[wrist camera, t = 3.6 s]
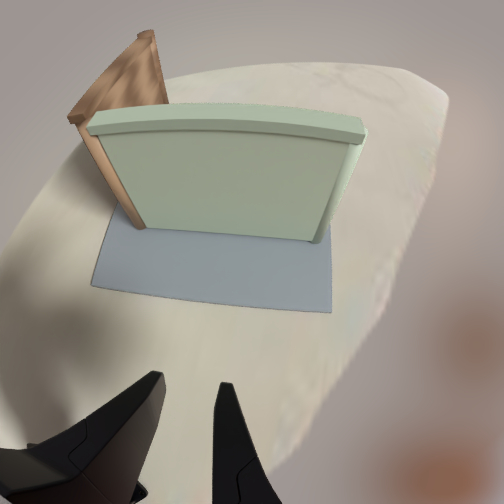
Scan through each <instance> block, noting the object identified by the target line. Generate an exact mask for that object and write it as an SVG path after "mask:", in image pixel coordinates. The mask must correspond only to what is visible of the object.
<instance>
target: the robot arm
mask: <svg viewBox="0 0 504 504" xmlns="http://www.w3.org/2000/svg"><path fill="white" fill-rule="evenodd" d="M165 394H166V385H165V379H164V374H163V373H162V372H158V371H151V372H149V373H148V374H146V375H145V376H144V377H142V378H141V379H140V380H138V381H137V382H135V383H134V384H133V385H131V386H130V387H128V388H127V389H126V390H124V391H123V392H121V393H120V394H119V395H117V396H116V397H114V398H113V399H112V400H110V401H109V402H107V403H106V404H104V405H103V406H102V407H100V408H99V409H97V410H96V411H94V412H93V413H92V414H90V415H89V416H87V417H86V419H85V418H84V419H83V420H81V421H80V422H78V423H77V424H75V425H74V426H72V427H70V428H69V429H67V430H65V431H63V432H62V433H60V434H58V435H56V436H54V437H52V438H50V439H48V440H46V441H44V442H42V443H40V444H31V443H28V444H27V449H22V450H15V449H4V448H0V504H135V503H137V502H139V501H140V500H142V499H144V498H145V497H146V496H147V495H148V491H147V490H146V489H145V488H144V487H143V486H142V485H141V484H140V483H139V482H138V481H137V480H138V478H139V475H140V472H141V469H142V467H143V464H144V461H145V459H146V456H147V453H148V451H149V448H150V445H151V443H152V440H153V438H154V435H155V432H156V429H157V426H158V423H159V418H160V414H161V410H162V406H163V402H164V398H165ZM257 456H258V455H257V453H256V450H255V447H254V444H253V442H252V439H251V436H250V433H249V431H248V428H247V425H246V422H245V419H244V416H243V413H242V410H241V407H240V404H239V401H238V398H237V395H236V392H235V389H234V386H233V384H232V383H227V382H221V383H220V386H219V390H218V394H217V398H216V402H215V406H214V419H213V467H212V504H282V502H281V501H280V499H279V498H278V496H277V494H276V493H275V491H274V490H273V488H272V486H271V484H270V483H269V481H268V479H267V477H266V475H265V472H264V470H263V468H262V465H261V463H260V460H259V458H258V457H257ZM140 491H142V492H143V493H144V494H141V492H140Z"/></svg>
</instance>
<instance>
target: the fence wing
mask: <svg viewBox="0 0 504 504" xmlns="http://www.w3.org/2000/svg"><path fill="white" fill-rule="evenodd" d="M79 132H80V134H81V136H82V137H83V139H84V141H85V143H86V145H87V147H88V149H89V150H90V152H91V154H92V156H93V158H94V159H95V161H96V163H97V165H98V167H99V168H100V170H101V172H102V174H103V175H104V177H105V179H106V180H107V182H108V184H109V186H110V187H111V189H112V191H113V192H114V194H115V196H116V197H117V199H118V200H119V202H120V204H121V205H122V207H123V209H124V210H125V212H126V213H127V215H128V216H129V218H130V220H131V221H132V223H133V224H134V226H135V227H136V229H138V230H143V229H145V228H159V229H173V230H186V231H199V232H212V233H225V234H237V235H249V236H261V237H272V238H283V239H295V240H305V241H310V242H311V243H313V244H319V243H320V242H321V241H322V239H323V237H324V235H325V233H326V231H327V228H328V226H329V224H330V222H331V220H332V218H333V215H334V213H335V211H336V209H337V206H338V204H339V202H340V200H341V197H342V195H343V193H344V191H345V188H346V186H347V184H348V181H349V179H350V177H351V174H352V172H353V170H354V167H355V165H356V163H357V160H358V158H359V155H360V153H361V150H362V148H363V145H364V143H365V140H366V138H367V135H368V130H367V128H366V127H365V126H364V125H363V124H362V120H361V118H358V117H353V116H348V115H342V114H337V113H330V112H324V111H317V110H310V109H302V108H293V107H283V106H272V105H258V104H239V103H180V104H161V105H147V106H136V107H127V108H118V109H111V110H104V111H97V112H96V113H95V114H94V116H93V117H90V118H88V119H86V120H85V121H84V122H82V124H81V125H80V126H79Z"/></svg>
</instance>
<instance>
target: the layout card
mask: <svg viewBox="0 0 504 504" xmlns="http://www.w3.org/2000/svg"><path fill="white" fill-rule="evenodd" d="M91 285H92V286H93V287H99V288H105V289H111V290H117V291H123V292H129V293H136V294H142V295H149V296H156V297H163V298H171V299H179V300H186V301H195V302H203V303H212V304H221V305H231V306H241V307H252V308H263V309H275V310H289V311H303V312H320V313H331V312H332V259H331V232H330V224H329V226H328V228H327V231H326V233H325V235H324V237H323V239H322V241H321V242H320V243H319V244H313V243H311V242H310V241H305V240H295V239H283V238H272V237H261V236H249V235H237V234H225V233H212V232H199V231H186V230H173V229H159V228H145V229H143V230H138V229H136V227H135V226H134V224H133V223H132V221H131V220H130V218H129V216H128V215H127V214H126V213H125V211H124V209H123V208H122V206H121V205H120V203H119V201H118V202H117V205H116V208H115V210H114V213H113V216H112V219H111V221H110V224H109V227H108V230H107V233H106V236H105V239H104V242H103V245H102V248H101V252H100V255H99V258H98V262H97V265H96V269H95V272H94V276H93V279H92V283H91Z"/></svg>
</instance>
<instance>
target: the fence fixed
mask: <svg viewBox="0 0 504 504" xmlns="http://www.w3.org/2000/svg"><path fill="white" fill-rule="evenodd" d="M137 37H138V38H137V39H136V40H135V41H134V42H133V43H132V44H131V45H130V46H129V47H128V48H127V49H126V50H125V51H124V52H123V53H122V54H121V55H120V56H119V57H118V58H117V59H116V60H115V61H114V62H113V63H112V64H111V65H110V66H109V67H108V68H107V69H106V70H105V71H104V72H103V73H102V74H101V75H100V77H99V78H98V79H97V80H96V81H95V82H94V83H93V84H92V86H91V87H90V88H89V89H88V90H87V92H86V93H85V94H84V95H83V97H82V98H81V99H80V100H79V101H78V103H77V104H76V105H75V106H74V108H73V109H72V110H71V112H70V113H69V114H68V116H67V118H68V120H69V122H70V124H75V125H76V127H77V129H78V131H79V126H80V125H81V124H82V122H84V121H85V120H86V119H88V118H90V117H93V116H94V114H95V113H96V112H97V111H104V110H111V109H118V108H127V107H136V106H147V105H161V104H169V102H168V97H167V93H166V88H165V84H164V79H163V75H162V70H161V65H160V60H159V56H158V51H157V46H156V41H155V35H154V31H153V30H146V31H143V32H141V33H139V34H137ZM79 133H80V132H79ZM80 135H81V134H80ZM81 137H82V136H81ZM82 139H83V137H82ZM83 141H84V139H83ZM84 142H85V141H84ZM85 144H86V143H85ZM86 146H87V145H86ZM87 148H88V147H87ZM88 150H89V149H88ZM89 152H90V150H89ZM90 153H91V152H90ZM91 155H92V154H91ZM92 157H93V156H92ZM93 159H94V158H93ZM94 161H95V159H94ZM95 162H96V161H95ZM96 164H97V163H96ZM97 166H98V165H97ZM98 168H99V167H98ZM99 169H100V168H99ZM100 171H101V170H100ZM101 173H102V172H101ZM102 175H103V174H102ZM103 176H104V175H103ZM104 178H105V177H104ZM105 180H106V179H105ZM106 181H107V180H106ZM107 183H108V182H107ZM108 185H109V184H108ZM110 188H111V187H110ZM111 190H112V189H111ZM113 193H114V192H113ZM114 195H115V194H114ZM116 198H117V197H116ZM117 200H118V199H117ZM118 201H119V200H118ZM119 203H120V202H119ZM120 205H121V204H120ZM121 206H122V205H121ZM122 208H123V207H122ZM124 211H125V210H124ZM125 213H126V212H125ZM126 214H127V213H126Z"/></svg>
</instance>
